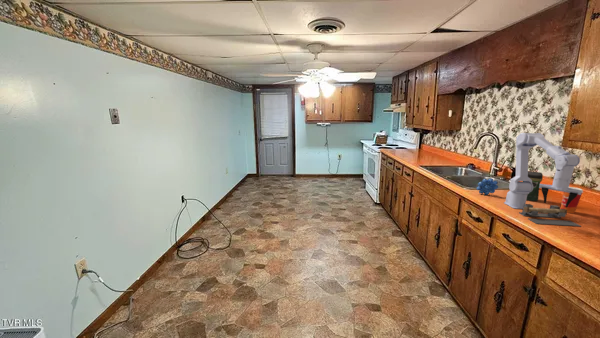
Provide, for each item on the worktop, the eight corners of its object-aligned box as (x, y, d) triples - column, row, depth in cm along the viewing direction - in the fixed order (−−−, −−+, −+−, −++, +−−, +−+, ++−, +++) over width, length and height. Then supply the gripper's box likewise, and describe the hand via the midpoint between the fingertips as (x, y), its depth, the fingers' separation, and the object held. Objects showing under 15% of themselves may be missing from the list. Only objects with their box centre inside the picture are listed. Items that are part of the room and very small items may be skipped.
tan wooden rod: (527, 212, 132) (527, 207, 132) (523, 211, 135) (523, 206, 135) (566, 214, 130) (567, 209, 130) (562, 213, 132) (562, 208, 132)
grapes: (495, 194, 170) (499, 178, 167) (496, 197, 164) (500, 180, 162) (475, 191, 176) (478, 175, 173) (475, 194, 171) (478, 177, 168)
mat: (527, 219, 131) (527, 218, 131) (570, 221, 128) (570, 220, 128) (536, 224, 125) (536, 223, 125) (581, 226, 123) (581, 225, 122)
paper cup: (556, 208, 147) (562, 185, 144) (575, 211, 142) (582, 188, 139) (559, 211, 141) (565, 188, 138) (578, 215, 136) (585, 191, 133)
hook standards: (518, 213, 138) (521, 203, 137) (554, 215, 136) (557, 205, 135) (528, 218, 132) (530, 207, 130) (566, 220, 129) (569, 209, 128)
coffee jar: (536, 199, 162) (542, 171, 158) (538, 202, 156) (545, 174, 152) (517, 196, 168) (522, 169, 163) (518, 199, 161) (524, 171, 157)
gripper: (541, 177, 124) (534, 202, 127) (584, 183, 113) (576, 211, 116) (542, 174, 128) (536, 199, 131) (584, 180, 118) (576, 207, 121)
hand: (555, 204), depth 124 cm, fingers open, 7 cm apart
